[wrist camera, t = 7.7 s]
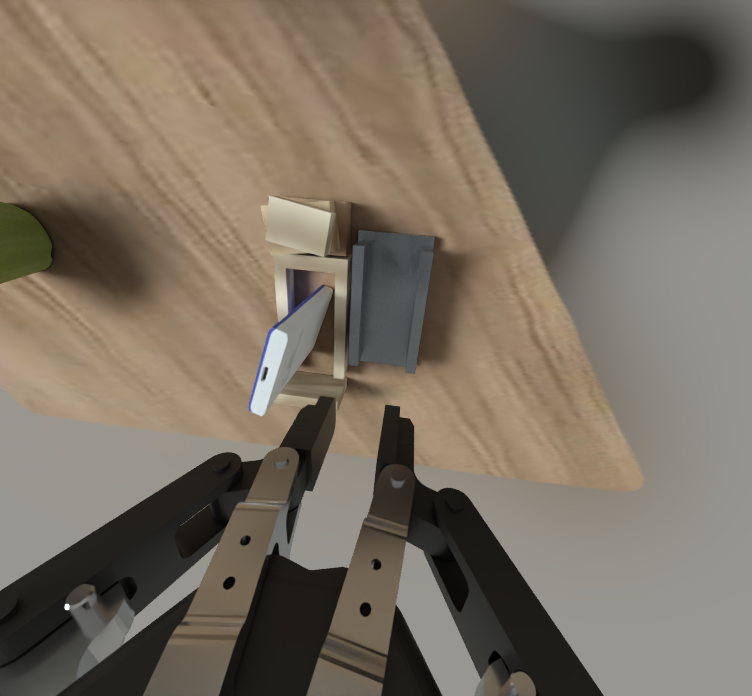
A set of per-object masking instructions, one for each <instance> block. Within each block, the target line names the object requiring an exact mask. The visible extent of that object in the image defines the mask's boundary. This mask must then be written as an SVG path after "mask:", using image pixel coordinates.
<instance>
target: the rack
mask: <svg viewBox="0 0 752 696" xmlns="http://www.w3.org/2000/svg"><path fill="white" fill-rule="evenodd" d="M273 261H274V274H275V287H276V301H277V314H278V322H280V321H281V320H282V319H283V318H284V317H285V316H287V315H288V314H289V313H290V312H291V311H293V310H294V309H295V292H294V271H293V269H298V270H308V271H318V272H327V273H335V319H334V376H331V375H323V374H316V373H308V372H301V371H296V372H295V373H294V375H293V376H292V377H291V379H290V380H289V381H288V383H287V384H286V385H285V387H284V388H283V390H282V391H281V392H280V394H279V395H278V396H277V398H276V399H275V400H274V402H273V403H276V404H283V405H290V406H297V407H305V406H307V405H308V404H310V405H316V403H317V401H318V399H319V397H320V396H327V397H335V398H336V412H337V411H338V409H339V406H340V404H341V401H342V398H343V396H344V393H345V391H346V388H347V378H346V377H345V375H346V373H347V369H348V344H349V318H350V292H351V266H352V257H350V256H337V255H327V256H325V257H322V256H318V255H315V254H311V253H298V254H279V255H273Z"/></svg>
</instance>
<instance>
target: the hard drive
mask: <svg viewBox="0 0 752 696" xmlns="http://www.w3.org/2000/svg"><path fill="white" fill-rule="evenodd" d="M332 295H333V290H332V289H331V288H329V287H327V286H324V285H322V286H321V287H319V288H318V289H317V290H316V291H315V292H314V293H312V294H311V295H310V296H309V297H308V298H307V299H305V300H304V301H303V302H302V303H301V304H300V305H298V306H297V307H296V308H295V309H294V310H293V311H291V312H290V313H289V314H288V315H287V316H285V317H284V318H283V319H282V320H281V321H280V322H278V323H277V324H275V325H274V326H273V327H272V328H271V329H270V330H269V332H268V335H267V339H266V343H265V346H264V350H263V354H262V358H261V361H260V365H259V369H258V373H257V376H256V380H255V383H254V387H253V391H252V395H251V398H250V402H249V411H250V412H253V413H255V414H258V415H260V416H263V415H264V414H265V413H266V411H267V410H268V409H269V407H270V406H271V404H272V403H273V402H274V400H275V399H276V398H277V396H278V395H279V394H280V392H281V391H282V390H283V388H284V387H285V385H286V384H287V383H288V381H289V380H290V379H291V377H292V376H293V375H294V373H295V372H296V371H297V369H298V368H299V366H300V365H301V364H302V362H303V361H304V360H305V358H306V357H307V356H308V354H309V353H310V352H311V350H312V349H313V347H314V345H315V342H316V339H317V337H318V334H319V331H320V328H321V325H322V323H323V320H324V317H325V314H326V312H327V309H328V306H329V303H330V301H331V298H332Z"/></svg>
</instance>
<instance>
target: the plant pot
mask: <svg viewBox="0 0 752 696" xmlns="http://www.w3.org/2000/svg"><path fill="white" fill-rule="evenodd" d="M51 249H52V244H51V241H50V239H49V237H48V235H47V233H46V231H45V230H44V228H43V227H42V226H41V224H40V223H39V222H38V221H37V220H36V219H35V218H34V217H33V216H32V215H31V214H30V213H28V212H27V211H25V210H22V209H20V208H18V207H16V206H14V205H12V204H9V203H3V202H0V284H1V283H4V282H7V281H11V280H14V279H17V278H20V277H23V276H26V275H30V274H33V273H36V272H39V271H42V270H45V269H46V268H48V267H49V266H50V264H51V263H52V258H51Z"/></svg>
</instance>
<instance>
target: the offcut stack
mask: <svg viewBox="0 0 752 696" xmlns="http://www.w3.org/2000/svg"><path fill="white" fill-rule="evenodd" d="M261 211H262V216H263V221H264V225H265V230H266V241H268V245H269V249H270V254H271V255H279V254H298V253H311V254H315V255H318V256H322V257H325V256H327V255H337V256H347V255H348V254H350V240H351V212H352V203H351V202H339V201H327V200H315V199H304V198H292V197H280V196H269V205H266V206H261Z"/></svg>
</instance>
